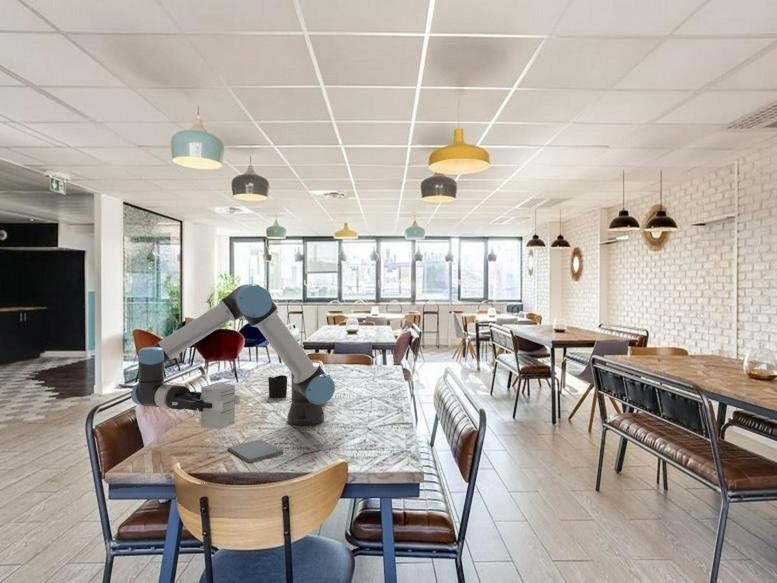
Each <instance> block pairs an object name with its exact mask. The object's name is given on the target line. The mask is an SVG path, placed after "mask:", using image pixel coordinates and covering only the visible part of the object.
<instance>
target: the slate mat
mask: <svg viewBox="0 0 777 583" xmlns="http://www.w3.org/2000/svg"><path fill="white" fill-rule="evenodd" d="M227 451H229V452H231V453H232V452H233V454H234V455H236V456H237V455H238V456H237V457H239V458H241V459H243V460H245V461H246V462H248V463H253V461H254V462H257V460H258V461H260V460H264V458H265V459H268V457H269V458H272V457H275V455H276V456H279V455H283V454H284V450H283V449H281V448H279V447H277V446H275V445H273V444H271V443H270V442H267V441H264V440H263V439H260V438H259V439H255V440H251V441H246V442H243V443H239V444H234V445H230V446H228V447H227ZM282 453H283V454H282ZM278 454H279V455H278Z"/></svg>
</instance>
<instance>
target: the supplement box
mask: <svg viewBox="0 0 777 583" xmlns="http://www.w3.org/2000/svg"><path fill="white" fill-rule="evenodd" d="M200 389H201V391H200V392H201V397H200V400H203V402H204V400H213V401H223V411H217V410H208V409H204V408H203V411H202V412H200V414H201V415H200V427H201V428H207V429H213V430H218V431H220V430H222V429H225V428H228V427H230V426H233V425H234V424H236V423H235V421H236V420H235V417H236V416H235V414H236V412H235V411H236V408H235V407H236V404H235V395H236V394H235V393H236V385H235V384H229V383H228V384H227V383H218V382H215V383H212V384H208V385H205V386H204V385H203V386H202V387H201V388H200Z"/></svg>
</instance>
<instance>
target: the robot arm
mask: <svg viewBox="0 0 777 583" xmlns="http://www.w3.org/2000/svg"><path fill="white" fill-rule="evenodd" d="M278 308H279V307H278V306H277V305H276V304H275V302H274V301H273V297H272V295H271V292H270V291H269V290H268V289H267V288H266V287H265V286H262V285H261V284H259V283H258V284H257V283H249V284H242V285H240V286H237V288H235V289H234V290H232V291H231V292H230V293H228V294H227V295H226V296H225V297H223V298H222V299H220V300H219V302H218V304H217V305H215V306H213V307H211V308H210V309H208V310H207V311H206V312H204V313H203V314H200V315H199V316H198V317H196V318H194V319H193V320H191V321H189V323H187V324H185V325H184V326H181V327H180V328H178V329H177V330H175V331H174V332H172V333H170V334H169V335H168V336H166V337H164V338H163V339H162V340H160V341H158V342H157V343H155V344H153V345H151V346H149V347H142V348H140V349H139V351H138V356H137V361H138V383H136V384H135V385H133V387H132V390H131V392H130V397H131V400H132V402H133V403H134V404H136V405H140V406H143V407H153V408H162V409H163V408H164V409H165V410H166V411H169V409H171V410H178V411H179V410H181V411H182V410H189V411H198V413H199V412H200V413H201V412H202V411H203V408H204V409H208V410H217V411H223V401H213V400H204V402H203V400H201V391H195V390H194V391H192V390H190V389H189V387H188V386H184V385H176V384H175V385H174V384H165V383H164V382H165V381H164V380H165V378H164V377H165V376H164V374H165V368H164V367H165V364H166V363H167V362H169V361H170V360H172V359H173V358H174V357H176V356H178V355H179V354H181V353H182V352H184V351H185V350H187V349H188V348H190V347H192V346H193V345H195V344H196V343H197V342H199V341H201V340H202V339H204V338H206V337H207V336H208V335H211V333H213V332H215V331H216V330H218V329H219V328H221V327H223V326H224V325H226V324H227V323H229V322H231V321H233V322H235V321H236V320H238V319H240V318H242V317H243V318H244V319H245V320H246V322H247V323H248V324H249V326H250V327H254V328H257V330H259V332H260V333H261V334H262V335H263V337H264V338H265V340H266V341H267V342H268V343H269V345H270V346H271V347H272V349H273V350H274V351H275V353H276V354H277V355H278V357H279V359H280V360H281V361H282V363H284V365H285V366H286V367H287V369H288V370H289V371H290V373H291V374H290V376H291V403H290V406H289V410H288V413H287V418H286V419H287V423H288V424H290V425H295V426H309V425H311V424H312V425H316V423H317V424H320V423H323V421H324V420H325V412H324V410H323V408H322V405H324V404H326V403H327V402H329V401H330V400H331V399H332V398H333V397H334V394H335V390H336V385H335V381H334V380H333V378H332V377H331V375H330V376H328V375H329V374H327V373H326V372H325V371H324V369H323V368H322V367H321V366H320V364H319V363H318V362H313V361H312V360H311V359H310V357H309V356H308V354H307V353H306V352H305V350H304V349H303V347H302V346H301V345H300V343H299V342H298V340H297V339H296V338H295V337H294V336H293V333H292V332H291V331H290V330H289V329H288V327H287V325H286V324H285V323H284V322H283V320H282V319H281V318H280V316H279V315H278ZM235 405H237V406H238V405H241V395H237V394H235ZM312 425H311V426H312Z"/></svg>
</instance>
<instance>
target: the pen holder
mask: <svg viewBox="0 0 777 583" xmlns="http://www.w3.org/2000/svg"><path fill="white" fill-rule="evenodd" d="M267 379H268V381H267V382H268V397H269V398H271V399H283V398H286V397H287V394H288V392H287V391H288V376H287V375H283V374H281V375H277V376H274V377H272V376H268V378H267Z"/></svg>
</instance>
